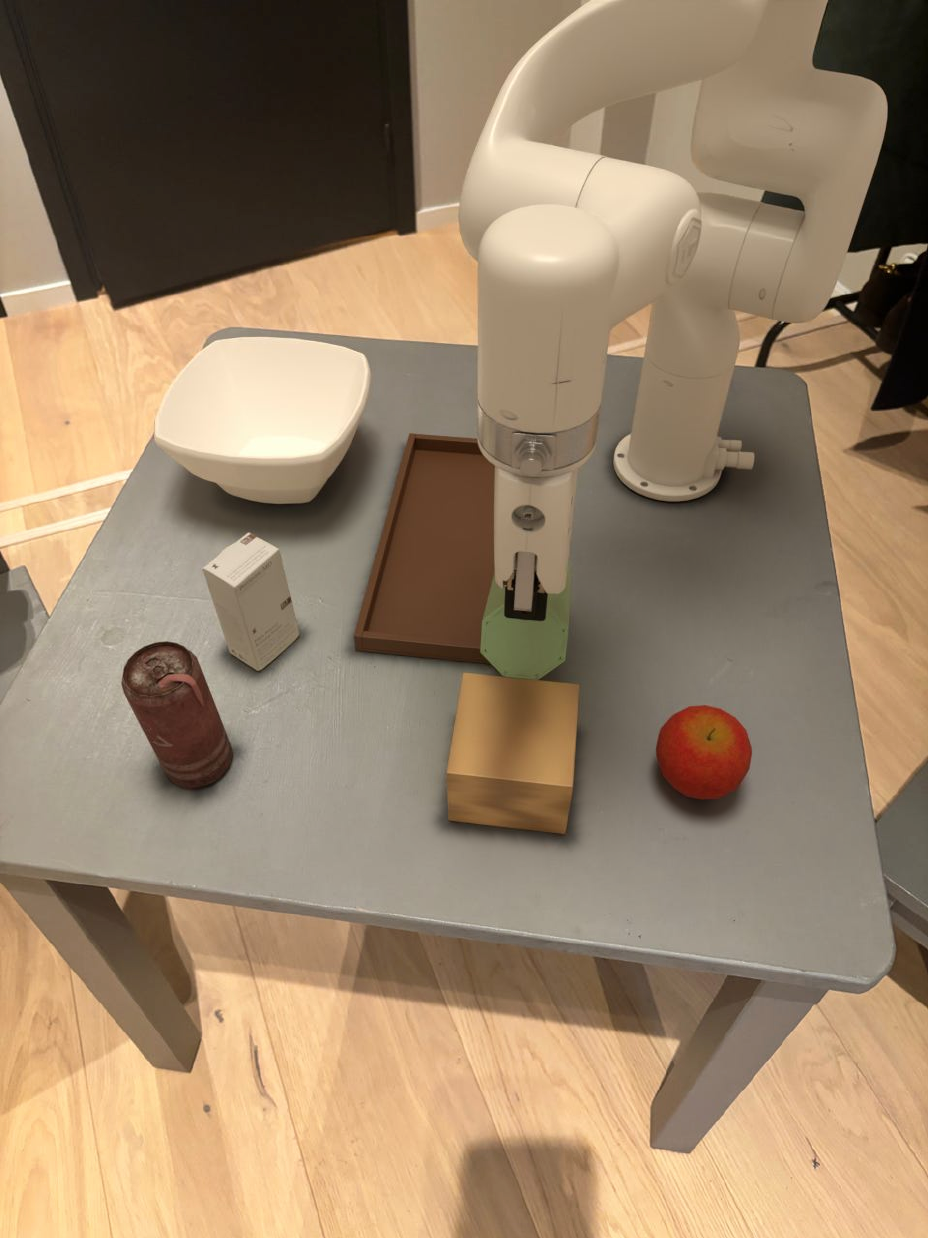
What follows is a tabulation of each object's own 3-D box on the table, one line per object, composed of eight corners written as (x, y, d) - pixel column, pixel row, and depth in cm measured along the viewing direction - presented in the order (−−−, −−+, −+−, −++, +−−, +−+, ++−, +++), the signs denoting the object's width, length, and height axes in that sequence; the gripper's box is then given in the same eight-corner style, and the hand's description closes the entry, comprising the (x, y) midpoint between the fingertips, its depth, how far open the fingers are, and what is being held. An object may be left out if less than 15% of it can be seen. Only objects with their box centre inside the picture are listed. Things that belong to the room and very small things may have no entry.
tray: (554, 459, 108) (556, 444, 106) (532, 668, 87) (533, 654, 86) (410, 448, 109) (409, 432, 107) (355, 650, 89) (353, 636, 87)
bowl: (394, 426, 112) (387, 345, 103) (348, 552, 98) (336, 470, 89) (225, 409, 114) (204, 328, 106) (157, 529, 100) (126, 446, 92)
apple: (702, 727, 83) (720, 676, 77) (757, 794, 78) (781, 746, 72) (632, 760, 81) (645, 711, 75) (685, 831, 76) (703, 785, 70)
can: (221, 796, 79) (181, 705, 68) (154, 784, 79) (104, 692, 69) (246, 738, 82) (212, 643, 72) (181, 727, 83) (138, 632, 73)
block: (571, 735, 82) (579, 683, 76) (565, 834, 76) (573, 787, 70) (464, 723, 83) (463, 672, 77) (448, 820, 77) (446, 772, 71)
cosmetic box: (260, 674, 87) (234, 590, 78) (227, 653, 89) (198, 569, 80) (302, 633, 90) (283, 549, 81) (270, 614, 92) (247, 529, 83)
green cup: (562, 682, 76) (566, 613, 89) (571, 606, 73) (573, 545, 86) (478, 674, 77) (494, 606, 89) (483, 597, 74) (499, 539, 86)
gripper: (593, 506, 51) (568, 695, 65) (602, 355, 60) (578, 548, 74) (461, 496, 51) (465, 684, 65) (491, 347, 61) (488, 540, 75)
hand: (525, 611), depth 70 cm, fingers closed
